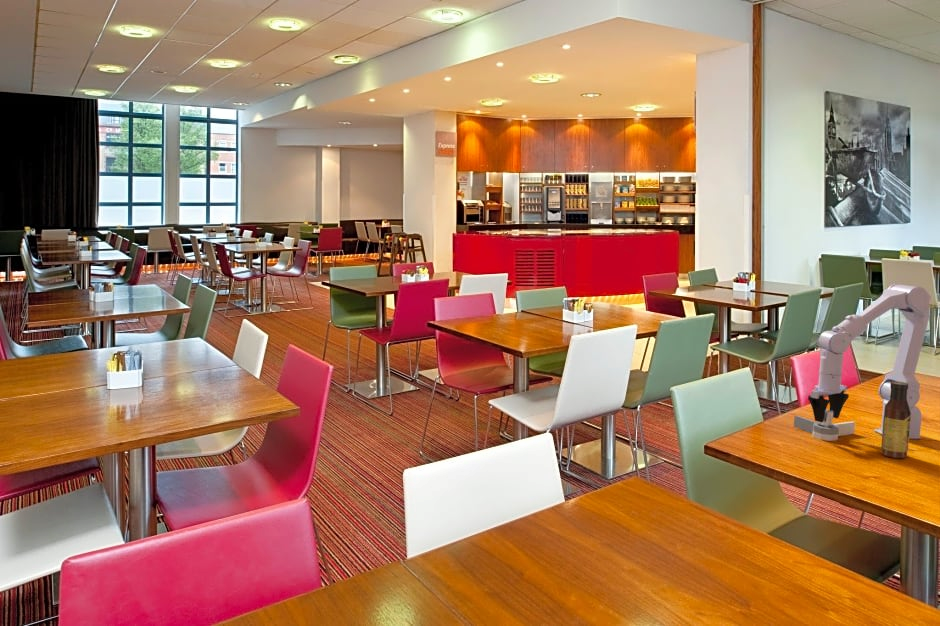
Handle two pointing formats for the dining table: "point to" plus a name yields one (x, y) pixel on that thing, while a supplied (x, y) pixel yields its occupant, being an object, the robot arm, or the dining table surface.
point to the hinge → (824, 428)
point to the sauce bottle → (896, 422)
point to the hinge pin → (827, 419)
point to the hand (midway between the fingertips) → (826, 419)
